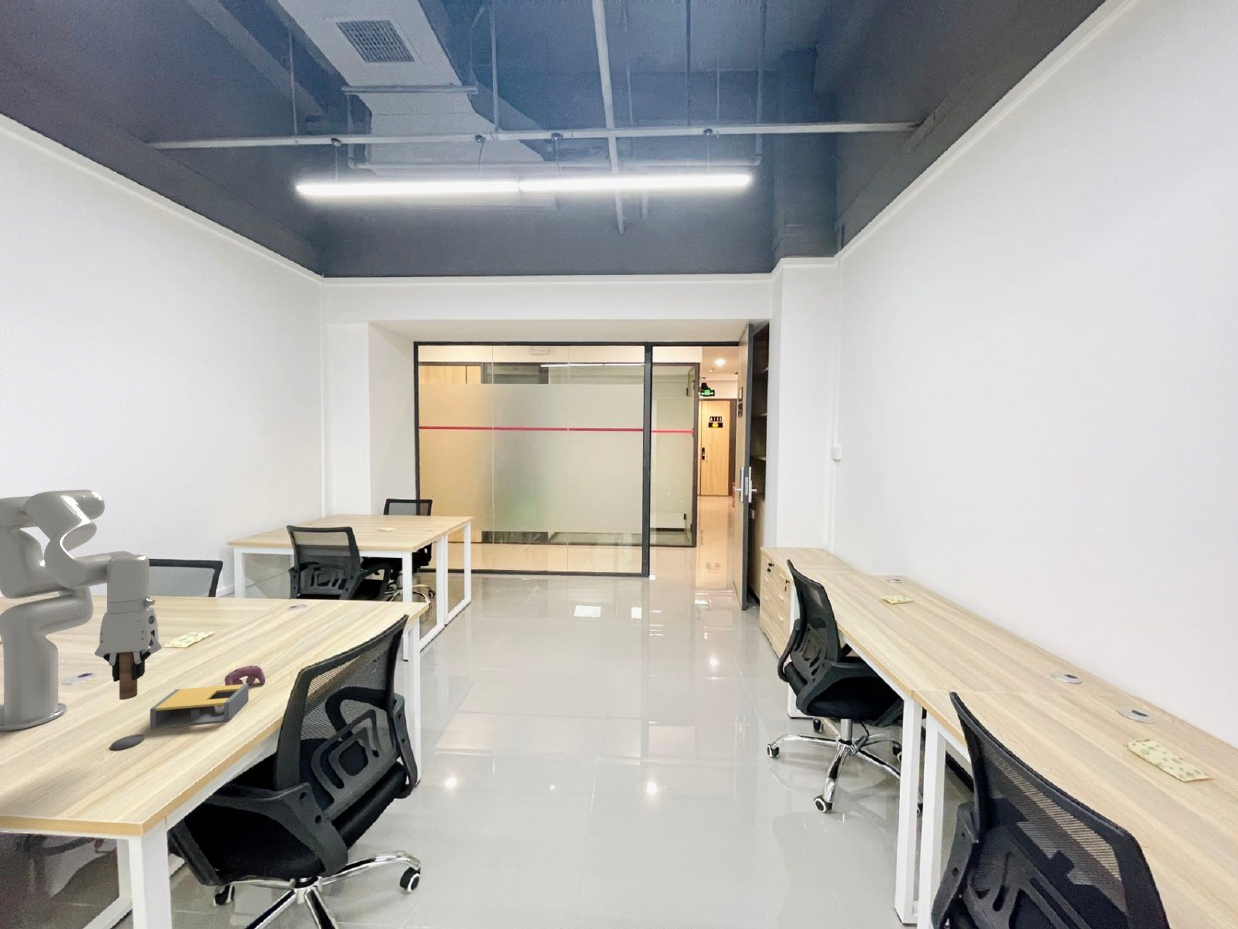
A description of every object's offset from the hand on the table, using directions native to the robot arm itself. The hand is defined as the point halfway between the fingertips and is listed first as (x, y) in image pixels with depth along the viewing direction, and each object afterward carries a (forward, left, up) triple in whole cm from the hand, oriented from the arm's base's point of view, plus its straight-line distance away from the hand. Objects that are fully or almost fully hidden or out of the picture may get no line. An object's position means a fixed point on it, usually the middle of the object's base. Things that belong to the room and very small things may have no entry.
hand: (128, 677), depth 125 cm
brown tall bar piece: (0, 0, -5) cm, 5 cm away
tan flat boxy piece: (+10, +12, -17) cm, 23 cm away
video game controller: (+14, +28, -17) cm, 35 cm away
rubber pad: (0, 0, -17) cm, 17 cm away
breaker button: (+15, +12, -16) cm, 25 cm away
